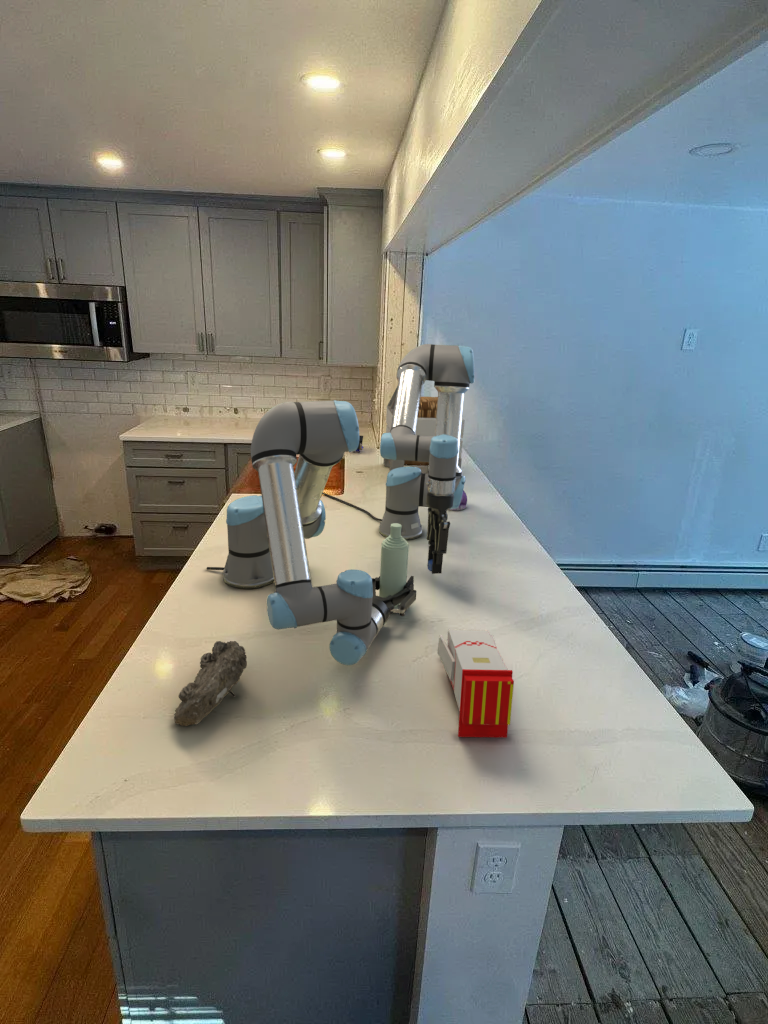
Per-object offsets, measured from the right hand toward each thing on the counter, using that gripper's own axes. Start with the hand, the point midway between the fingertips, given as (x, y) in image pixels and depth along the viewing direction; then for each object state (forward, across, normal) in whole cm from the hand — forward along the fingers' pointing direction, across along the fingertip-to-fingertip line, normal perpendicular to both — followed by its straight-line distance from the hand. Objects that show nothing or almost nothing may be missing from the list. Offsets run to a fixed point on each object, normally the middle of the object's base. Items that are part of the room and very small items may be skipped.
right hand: (434, 569), depth 164 cm
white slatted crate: (+3, -113, +27) cm, 117 cm away
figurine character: (+3, -159, +3) cm, 159 cm away
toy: (+5, +50, -7) cm, 50 cm away
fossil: (+5, +43, -58) cm, 72 cm away
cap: (-2, 0, 0) cm, 2 cm away
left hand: (-2, +8, -13) cm, 15 cm away
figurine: (+4, -63, +28) cm, 70 cm away
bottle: (+4, +12, -15) cm, 20 cm away
